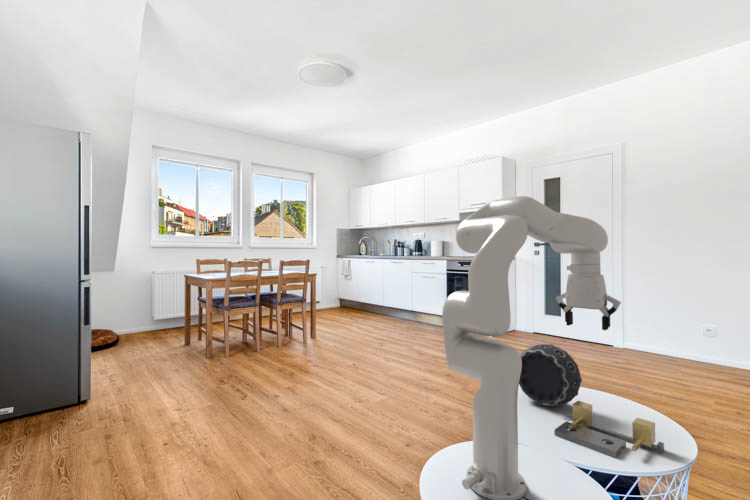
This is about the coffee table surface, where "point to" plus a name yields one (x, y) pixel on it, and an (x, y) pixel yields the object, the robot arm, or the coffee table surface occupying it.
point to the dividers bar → (585, 419)
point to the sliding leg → (643, 433)
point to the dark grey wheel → (549, 375)
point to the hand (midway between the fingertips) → (586, 327)
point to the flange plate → (591, 439)
